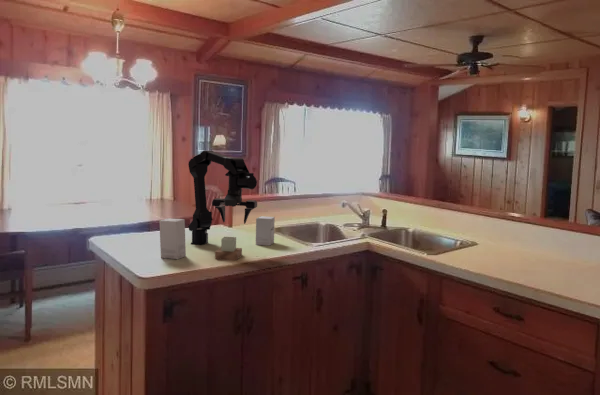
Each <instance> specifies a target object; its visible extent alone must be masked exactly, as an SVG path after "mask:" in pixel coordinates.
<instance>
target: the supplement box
mask: <svg viewBox="0 0 600 395" xmlns="http://www.w3.org/2000/svg"><path fill="white" fill-rule="evenodd" d="M274 243H275V216H262V215H261V216H259V217H256V219H255V245H260V246H271V245H272V244H274Z"/></svg>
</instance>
